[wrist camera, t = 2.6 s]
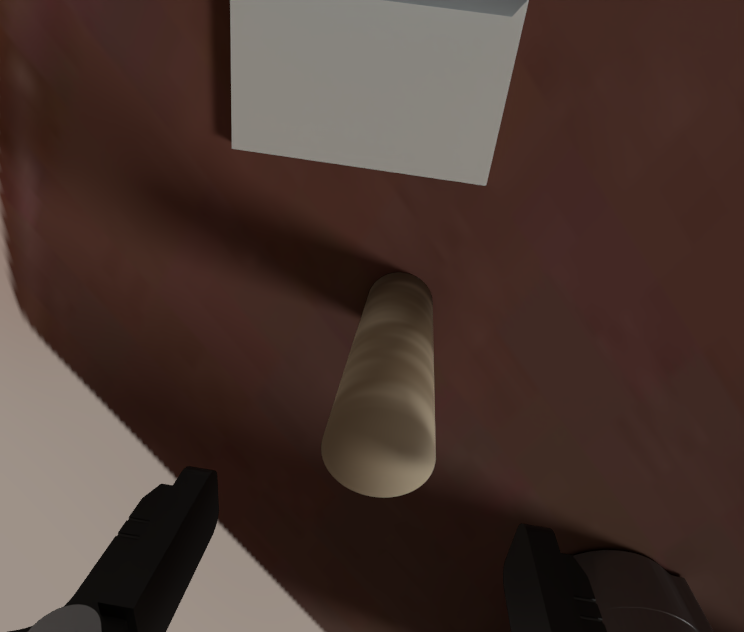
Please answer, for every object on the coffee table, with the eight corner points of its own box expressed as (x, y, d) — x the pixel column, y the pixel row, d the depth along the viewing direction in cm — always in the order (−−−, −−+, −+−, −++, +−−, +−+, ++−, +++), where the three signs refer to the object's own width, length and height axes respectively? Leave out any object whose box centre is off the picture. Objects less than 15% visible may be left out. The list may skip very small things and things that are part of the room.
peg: (438, 277, 24) (445, 419, 13) (426, 336, 26) (424, 506, 15) (371, 267, 24) (325, 398, 13) (363, 326, 26) (317, 486, 15)
